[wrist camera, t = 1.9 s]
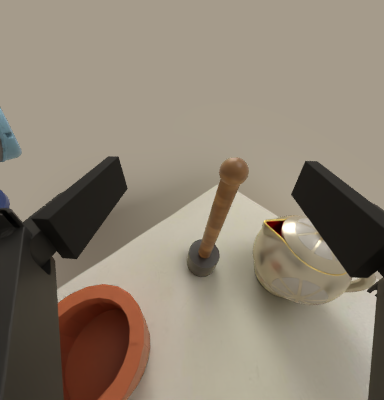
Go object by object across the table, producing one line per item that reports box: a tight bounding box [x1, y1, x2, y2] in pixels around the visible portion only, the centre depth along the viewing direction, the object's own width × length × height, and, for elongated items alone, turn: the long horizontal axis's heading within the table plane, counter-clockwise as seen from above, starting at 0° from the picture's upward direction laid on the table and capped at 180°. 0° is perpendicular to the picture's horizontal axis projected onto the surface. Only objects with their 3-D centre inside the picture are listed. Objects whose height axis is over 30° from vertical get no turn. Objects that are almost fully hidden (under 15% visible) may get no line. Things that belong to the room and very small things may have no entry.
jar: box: [58, 284, 150, 400], centre depth 19 cm, size 11×11×10 cm
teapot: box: [253, 216, 376, 305], centre depth 27 cm, size 18×14×16 cm
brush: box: [187, 157, 249, 277], centre depth 25 cm, size 6×6×24 cm
